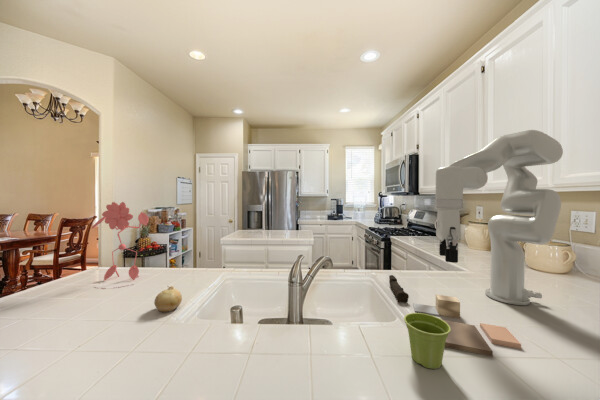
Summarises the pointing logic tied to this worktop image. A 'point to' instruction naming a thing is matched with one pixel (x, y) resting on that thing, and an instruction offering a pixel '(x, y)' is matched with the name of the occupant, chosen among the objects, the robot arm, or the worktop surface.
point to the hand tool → (398, 290)
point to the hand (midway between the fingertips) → (448, 258)
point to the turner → (441, 307)
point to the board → (467, 339)
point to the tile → (500, 335)
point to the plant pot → (427, 338)
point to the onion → (168, 300)
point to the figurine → (120, 218)
